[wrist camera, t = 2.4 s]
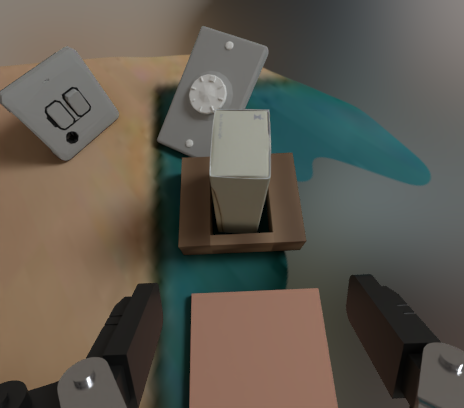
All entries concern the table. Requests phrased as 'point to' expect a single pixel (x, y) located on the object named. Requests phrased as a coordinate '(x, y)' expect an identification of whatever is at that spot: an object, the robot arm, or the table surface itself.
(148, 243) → the table surface
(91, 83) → the electrical switch
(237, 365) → the terracotta mat
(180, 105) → the light switch
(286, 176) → the frame
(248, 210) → the skincare box
